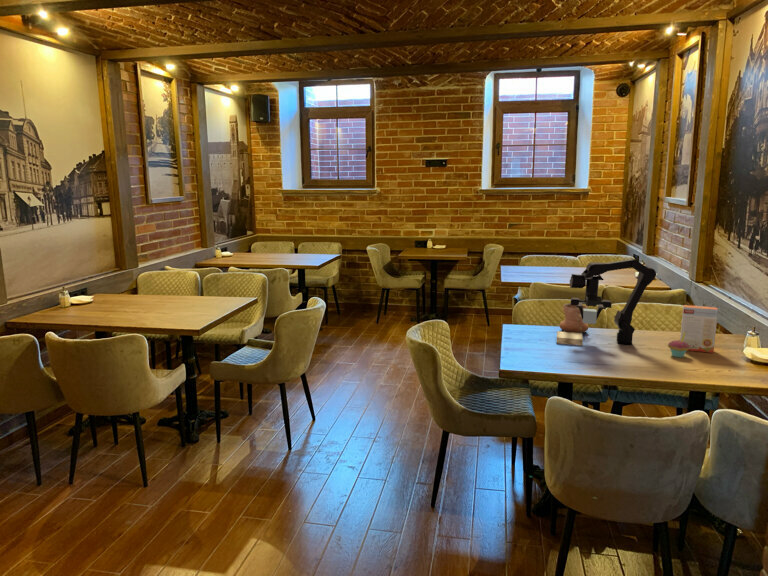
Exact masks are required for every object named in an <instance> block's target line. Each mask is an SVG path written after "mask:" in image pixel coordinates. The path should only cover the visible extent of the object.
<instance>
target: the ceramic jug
mask: <svg viewBox="0 0 768 576" xmlns="http://www.w3.org/2000/svg"><path fill="white" fill-rule="evenodd" d="M582 306H583V309H589V308H588V307H589V306H586V305H585V304H582ZM562 308H563V314H564V317H565V319H564V320H562V321H560V323H559V328H560V330H561V331H562V332H573V333H582V334H583V333H586V332H587V331H588V330H589V324H588V323H583V319H582V317H581V313H580V310H579V307H576V305H571V303H564V304H563V307H562Z"/></svg>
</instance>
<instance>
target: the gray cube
mask: <svg viewBox="0 0 768 576" xmlns="http://www.w3.org/2000/svg"><path fill="white" fill-rule="evenodd" d="M596 318H597V309H593V308H587V309H583V323H586V324H587V325H589V324H590V325H596V324H597V320H596Z"/></svg>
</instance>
